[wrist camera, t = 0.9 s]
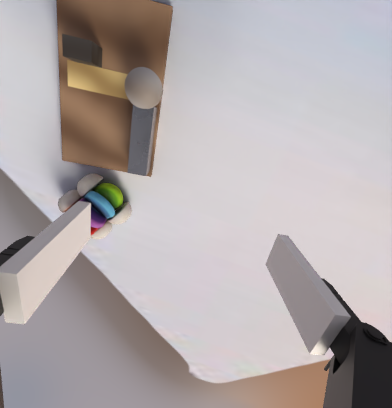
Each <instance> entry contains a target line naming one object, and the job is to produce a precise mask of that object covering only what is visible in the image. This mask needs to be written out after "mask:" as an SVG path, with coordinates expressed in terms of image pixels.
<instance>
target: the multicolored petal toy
mask: <svg viewBox="0 0 392 408" xmlns="http://www.w3.org/2000/svg"><path fill="white" fill-rule="evenodd" d="M102 179H103V177H102V176H100V175H98V174H87V175H86V176H85V177H83V178H82V179H81V180H80V181H79V182H78V184H77V190H70V191H68V192H67V193H66V194H64V195H63V196H62V197H61V198H60V199H59V201H58V206H59V209H60V211H61V212H66V211H67V210H68V209H70V208H71V207H72V206H73V205H74V204H76V203H77V202H78V201H83V202H89V203H91V238H93V239H102V238H104V237H106V236H107V235H108V234H109V233H110V232H111V230H112V223H113V224H122V223H124V222H125V221H126V220H127V219H128V218H129V217H130V215H131V211H132V210H131V206H130V204H129V202H126V203H124V204H123V195H122V192H121V190H120V189H119V188H118V187H117V186H115V185H113V184H111V183H100V184H99V182H100V181H101V180H102ZM82 197H83V198H82ZM81 198H82V199H81ZM122 204H123V205H122ZM116 209H117V210H116ZM115 210H116V211H115Z"/></svg>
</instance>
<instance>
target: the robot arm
mask: <svg viewBox="0 0 392 408" xmlns="http://www.w3.org/2000/svg"><path fill="white" fill-rule="evenodd" d="M90 238H91V203H89V202H83V201H78V202H77V203H76V204H74V205H73V206H72V207H71V208H70V209H68V210H67V211H66V212H65V213H64V214H62V215H61V216H60V217H59V218H58V219H56V220H55V221H54V222H53V223H52V224H50V225H49V226H48V227H47V228H46V229H45V230H43V231H42V232H41V233H40V234H39V235H37V236H36V237H31V236H26V237H24V238H22V239H19V240H17V241H16V242H14V243H13V244H11V245H10V246H9V247H8V248H7V249H5V250H4V251H2V252H1V253H0V316H1V315H2V313H4V318H5V322H9V323H19V324H25V323H26V322H27V321H28V319H29V318H30V317H31V315H32V314H33V313H34V311H35V310H36V309H37V308H38V306H39V305H40V303H41V302H42V301H43V300H44V298H45V297H46V296H47V294H48V293H49V292H50V290H51V289H52V288H53V286H54V285H55V284H56V282H57V281H58V280H59V278H60V277H61V276H62V275H63V273H64V272H65V271H66V269H67V268H68V266H70V264H71V263H72V262H73V260H74V259H75V258H76V256H77V255H78V254H79V252H80V251H81V250H82V248H83V247H84V246H85V245H86V243H87V242H88V241H89V239H90ZM266 266H267V268H268V270H269V272H270V274H271V276H272V278H273V280H274V282H275V284H276V286H277V288H278V290H279V292H280V294H281V296H282V298H283V300H284V303H285V305H286V307H287V309H288V311H289V313H290V315H291V317H292V319H293V321H294V323H295V325H296V327H297V329H298V331H299V333H300V335H301V337H302V339H303V341H304V343H305V345H306V347H307V349H308V351H309V353H310V354H316V355H325V353H326V352H327V350H328V349H329V348H331V350H332V352H333V353H334V356H333V357H332V358H331V360H330V361H329V362H328V364H327V365H326V367H325V368H324V370H326V371H327V370H328V368H329V374H328V380H327V386H326V392H325V398H324V404H323V408H392V343H391V342H389V341H388V339H387V338H386V337H385V336H384V335H383V334H382V333H381V332H380V331H379V330H378V329H376V328H375V327H373V326H371V325H369V324H367V323H363V322H361V321H360V320H359V318H358V317H357V316H356V315H355V313H354V312H353V311H352V310H351V309H350V307H349V306H348V305H347V304H346V302H345V301H343V299H342V297H341V296H340V295H339V294H338V292H337V291H336V290H335V289H334V287H333V286H332V285H331V284H329V283H328V282H327V281H326V280H325V279H322V278H320V276H319V275H318V274H317V272H316V271H315V270H314V269H313V267H312V266H311V265H310V263H309V262H308V261H307V260H306V258H305V257H304V256H303V254H302V253H301V252H300V251H299V249H298V248H297V247H296V245H295V244H294V243H293V242H292V240H291V239H290V238H289V236H286V235H280V234H278V236H277V238H276V240H275V243H274V245H273V248H272V250H271V252H270V255H269V257H268V260H267V262H266ZM0 408H4V401H3V391H2V380H1V369H0Z"/></svg>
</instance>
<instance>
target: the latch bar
mask: <svg viewBox="0 0 392 408" xmlns="http://www.w3.org/2000/svg"><path fill="white" fill-rule="evenodd" d="M156 116H157V108H156V107H153V108H150V109H142V108H139V107H136V106H135V105H133V111H132V123H131V135H130V148H129V160H128V172H127V173H132V174H138V175H143V176H146V175H147V174H148V172H149V171H150V165H151V156H152V148H153V140H154V132H155V124H156Z"/></svg>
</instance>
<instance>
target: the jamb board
mask: <svg viewBox="0 0 392 408" xmlns="http://www.w3.org/2000/svg"><path fill="white" fill-rule="evenodd" d="M172 13H173V8H172V6H169V5H166V4H162V3H158V2H155V1H151V0H57V25H58V52H59V79H60V107H61V134H62V160H63V161H69V162H74V163H80V164H85V165H90V166H96V167H101V168H107V169H112V170H117V171H123V172H128V160H129V148H130V135H131V123H132V111H133V105H135V106H136V107H139V108H142V109H150V108H153V107H156V108H157V116H156V124H155V132H154V140H153V148H152V156H151V165H150V171H149V172H148V174H147V175H146V176H150V177H151V175H152V169H153V161H154V153H155V145H156V138H157V130H158V122H159V114H160V106H161V99H162V94H163V83H164V75H165V67H166V59H167V52H168V44H169V36H170V28H171V20H172Z"/></svg>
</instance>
